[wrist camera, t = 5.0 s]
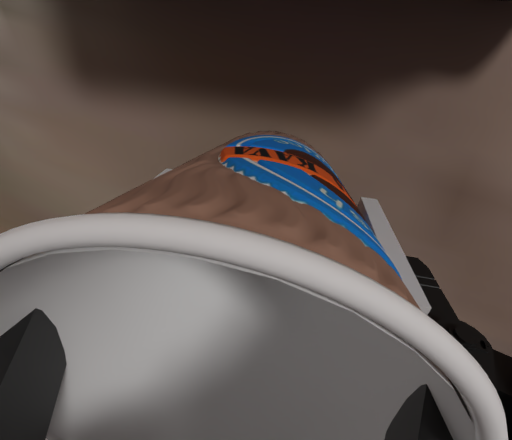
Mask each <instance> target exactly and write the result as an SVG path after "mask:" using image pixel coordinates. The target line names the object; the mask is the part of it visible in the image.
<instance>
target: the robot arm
mask: <svg viewBox="0 0 512 440" xmlns="http://www.w3.org/2000/svg"><path fill="white" fill-rule="evenodd" d="M171 170H173V169H165V170H164V171H163V172H161V173H160V174H159V175H157V176H156V177H158V176H160V175H162V174H164V173H166V172H169V171H171ZM156 177H155V178H156ZM357 208H358V209H359V211H360V212H361V214H362V216H363V217H364V219H365V220H366V222H367V224H368V225H369V227H370V228H371V230H372V231H373V233H374V234H375V236H376V237H377V239H378V241H379V242H380V244H381V245H382V247H383V248H384V250H385V252H386V254H387V255H388V256H389V258H390V259H391V261H392V263H393V264H394V266H395V267H396V269H397V270H398V272H399V274H400V276H401V278H402V281H403V283H404V284H405V286H406V287H407V289H408V290H409V292H410V293H411V295H412V296H413V298H414V300H415V301H416V303H417V304H418V306H419V307H420V309H421V311H422V312H424V313H425V314H426V315H427V316H429V317H430V318H431V319H433V320H434V321H435V322H436V323H438V324H439V325H440V326H441V327H442V328H444V329H445V330H446V331H447V332H448V333H449V334H450V335H451V336H453V337H454V338H455V339H456V340H457V341H458V342H459V343H460V344H461V345H462V346H463V347H464V348H465V349H466V350H467V351H468V352H469V353H470V354H471V355H472V356H473V358H474V359H475V360H476V361H477V362H478V363H479V365H480V366H481V367H482V369H483V370H484V371H485V373H486V374H487V375H488V377H489V379H490V380H491V382H492V384H493V385H494V387H495V389H496V391H497V393H498V395H499V398H500V400H501V402H502V405H503V409H504V412H505V417H506V424H507V432H508V440H512V357H510V356H507V355H505V354H503V353H500V352H498V351H496V350H494V349H492V347H491V345H490V343H489V342H488V341H487V339H486V338H485V337H484V336H483V335H482V334H481V333H480V332H479V331H477V330H476V329H475V328H473V327H472V326H470V325H468V324H467V323H465V322H462V321H460V320H459V319H458V318H457V316H456V314H455V312H454V311H453V309H452V307H451V306H450V304H449V302H448V301H447V299H446V297H445V295H444V294H443V292H442V290H441V289H439V285H438V283H437V282H436V280H434V277H433V275H432V273H431V271H430V270H429V268H428V267H427V266H426V265H425V264H424V263H423V262H421V261H420V260H419V259H418V258H415V257H408V256H405V254H404V252H403V250H402V248H401V246H400V244H399V242H398V240H397V238H396V236H395V234H394V232H393V230H392V228H391V226H390V224H389V222H388V220H387V218H386V216H385V214H384V212H383V210H382V208H381V206H380V204H379V202H378V200H377V199H371V198H364V197H361V198H360V201H359V204H358V207H357ZM22 259H23V258H22ZM20 260H21V259H20ZM20 260H18V261H20ZM18 261H16V262H18ZM16 262H13V263H11V264H9V265H8V266H6V267H5V268H7V267H9V266H11V265H12V264H14V263H16ZM5 268H3V269H1V270H0V272H1V271H3V270H4V269H5ZM66 365H67V363H66V356H65V351H64V348H63V345H62V342H61V339H60V337H59V334H58V331H57V328H56V326H55V325H54V324H53V323H52V322H51V320H50V319H49V318H48V317H47V316H46V314H45V313H44V312H43V311H42V310H40V309H37V308H35V309H34V310H33V311H32V312H30V313H29V314H28V315H27V316H25V317H24V318H23V319H22V320H20V321H19V322H18V323H17V324H15V325H14V326H13V327H11V328H10V329H9V330H8V331H6V332H5V333H4V334H3V335H1V336H0V440H45V438H46V435H47V432H48V428H49V425H50V421H51V418H52V414H53V411H54V407H55V404H56V400H57V397H58V393H59V390H60V386H61V383H62V379H63V375H64V372H65V368H66ZM451 383H452V382H451ZM452 385H453V383H452ZM453 388H454V390H455V392H456V394H457V395H458V397H459V399H460V401H461V403H462V405H463V406H464V408H465V410H466V412H467V414H468V416H469V417H470V419H471V416H470V414H469V411H468V409H467V406H466V404H465V402H464V400H463V398H462V397H461V395H460V393H459V392H458V390H457V389H456V387H455V386H454V385H453ZM471 421H472V420H471ZM384 440H453V438H452V436H451V434H450V432H449V430H448V427H447V425H446V423H445V421H444V419H443V417H442V415H441V413H440V411H439V409H438V406H437V404H436V402H435V400H434V398H433V396H432V394H431V392H430V390H429V387H428V385H427V384H424V385H421V386H420V387H418V388H417V389H416V390H415V391H414V392H413V393H412V394H411V395H410V396H409V397H408V398H407V399H406V400H405V402H404V403H403V405H402V406H401V408H400V409H399V411H398V412H397V414H396V415H395V417H394V418H393V420H392V421H391V423H390V425H389V427H388V429H387V431H386V435H385V439H384Z"/></svg>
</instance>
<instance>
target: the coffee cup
mask: <svg viewBox="0 0 512 440" xmlns="http://www.w3.org/2000/svg"><path fill="white" fill-rule="evenodd" d="M22 258H23V259H22ZM20 259H21V260H20ZM18 260H20V261H18ZM16 261H18V262H16ZM13 262H16V263H14V264H12V265H11V266H9V267H7V268H5V267H6V266H8V265H9V264H11V263H13ZM3 268H5V269H4V270H3V271H1V272H0V336H1V335H3V334H4V333H5V332H6V331H8V330H9V329H10V328H11V327H13V326H14V325H15V324H17V323H18V322H19V321H20V320H22V319H23V318H24V317H25V316H27V315H28V314H29V313H30V312H32V311H33V310H34V309H35V308H37V309H40V310H42V311H43V312H44V313H45V314H46V316H47V317H48V318H49V319H50V320H51V322H52V323H53V324H54V325H55V326H56V328H57V331H58V334H59V337H60V339H61V342H62V345H63V348H64V351H65V356H66V363H67V365H66V368H65V372H64V375H63V379H62V383H61V386H60V390H59V393H58V397H57V400H56V404H55V407H54V411H53V414H52V418H51V421H50V425H49V428H48V432H47V435H46V438H47V439H48V440H384V439H385V435H386V431H387V429H388V427H389V425H390V423H391V421H392V420H393V418H394V417H395V415H396V414H397V412H398V411H399V409H400V408H401V406H402V405H403V403H404V402H405V400H406V399H407V398H408V397H409V396H410V395H411V394H412V393H413V392H414V391H415V390H416V389H417V388H418V387H420V386H421V385H424V384H427V385H428V387H429V390H430V392H431V394H432V396H433V398H434V400H435V402H436V404H437V406H438V409H439V411H440V413H441V415H442V417H443V419H444V421H445V423H446V425H447V427H448V430H449V432H450V434H451V436H452V438H453V440H508V432H507V424H506V417H505V412H504V409H503V405H502V402H501V400H500V398H499V395H498V393H497V391H496V389H495V387H494V385H493V384H492V382H491V380H490V379H489V377H488V375H487V374H486V373H485V371H484V370H483V369H482V367H481V366H480V365H479V363H478V362H477V361H476V360H475V359H474V358H473V356H472V355H471V354H470V353H469V352H468V351H467V350H466V349H465V348H464V347H463V346H462V345H461V344H460V343H459V342H458V341H457V340H456V339H455V338H454V337H453V336H451V335H450V334H449V333H448V332H447V331H446V330H445V329H444V328H442V327H441V326H440V325H439V324H438V323H436V322H435V321H434V320H433V319H431V318H430V317H429V316H427V315H426V314H425V313H424V312H422V311H421V309H420V307H419V306H418V304H417V303H416V301H415V300H414V298H413V296H412V295H411V293H410V292H409V290H408V289H407V287H406V286H405V284H404V283H403V281H402V278H401V276H400V274H399V272H398V270H397V269H396V267H395V266H394V264H393V263H392V261H391V259H390V258H389V256H388V255H387V254H386V252H385V250H384V248H383V247H382V245H381V244H380V242H379V241H378V239H377V237H376V236H375V234H374V233H373V231H372V230H371V228H370V227H369V225H368V224H367V222H366V220H365V219H364V217H363V216H362V214H361V212H360V211H359V209H358V208H357V206H356V205H355V203H354V201H353V200H352V198H351V197H350V195H349V194H348V192H347V191H346V189H345V187H344V186H343V184H342V183H341V181H340V180H339V178H338V176H337V175H336V173H335V172H334V171H333V169H332V168H331V167H330V165H329V164H328V163H327V161H326V160H325V159H323V157H322V155H321V154H320V153H319V152H316V151H315V149H314V148H313V147H312V146H311V145H308V144H307V143H305V142H304V141H303V140H301V139H298V138H296V137H294V136H292V135H289V134H284V133H281V132H276V131H275V132H272V131H267V132H262V131H258V132H256V133H253V134H252V133H247V134H245V135H243V136H238V137H236V138H234V139H232V140H230V141H228V142H226V143H224V144H222V145H220V146H218V147H216V148H214V149H212V150H210V151H208V152H206V153H204V154H202V155H200V156H198V157H196V158H194V159H192V160H190V161H188V162H186V163H184V164H182V165H181V166H179V167H177V168H175V169H173V170H171V171H169V172H166V173H164V174H162V175H160V176H158V177H156V178H154V179H152V180H150V181H148V182H146V183H144V184H142V185H140V186H138V187H136V188H134V189H132V190H130V191H128V192H126V193H124V194H122V195H120V196H118V197H117V198H115V199H113V200H111V201H109V202H107V203H105V204H103V205H101V206H99V207H97V208H95V209H93V210H91V211H89V212H87V213H85V214H81V215H74V216H67V217H60V218H53V219H47V220H42V221H38V222H33V223H29V224H26V225H23V226H20V227H16V228H13V229H11V230H8V231H6V232H4V233H1V234H0V270H1V269H3ZM451 382H452V383H453V385H454V386H455V387H456V389H457V390H458V392H459V393H460V395H461V397H462V398H463V400H464V402H465V404H466V406H467V409H468V411H469V414H470V416H471V419H470V417H469V416H468V414H467V412H466V410H465V408H464V406H463V405H462V403H461V401H460V399H459V397H458V395H457V394H456V392H455V390H454V388H453V385H452V383H451ZM471 420H472V421H471Z"/></svg>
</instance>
